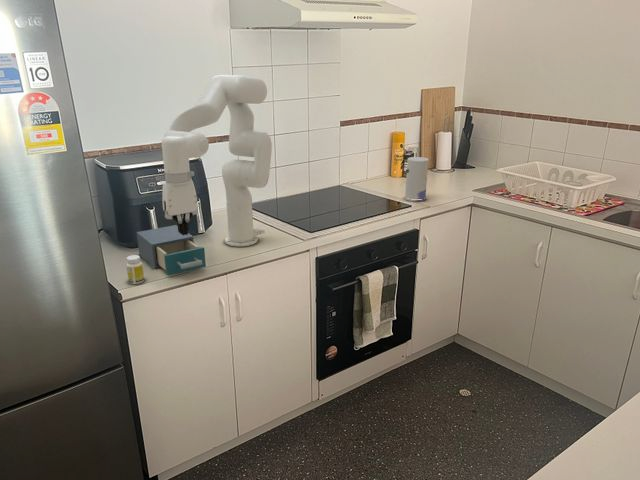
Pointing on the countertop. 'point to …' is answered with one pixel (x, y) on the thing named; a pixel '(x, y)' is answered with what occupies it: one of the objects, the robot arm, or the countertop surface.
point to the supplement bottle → (135, 269)
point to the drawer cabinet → (158, 241)
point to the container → (416, 178)
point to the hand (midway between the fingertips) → (183, 233)
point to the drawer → (180, 257)
